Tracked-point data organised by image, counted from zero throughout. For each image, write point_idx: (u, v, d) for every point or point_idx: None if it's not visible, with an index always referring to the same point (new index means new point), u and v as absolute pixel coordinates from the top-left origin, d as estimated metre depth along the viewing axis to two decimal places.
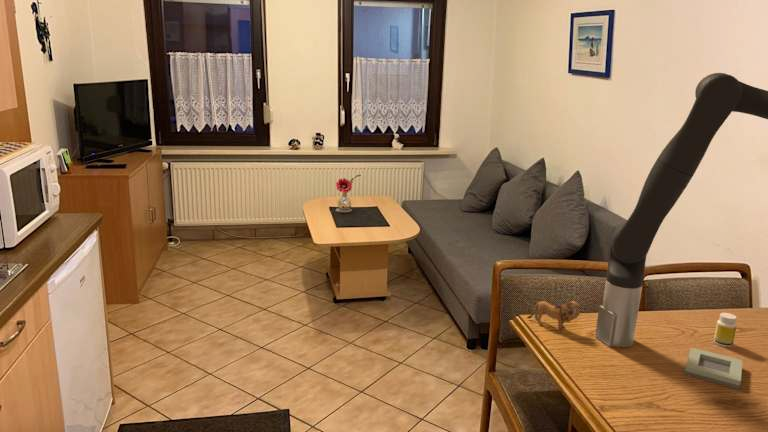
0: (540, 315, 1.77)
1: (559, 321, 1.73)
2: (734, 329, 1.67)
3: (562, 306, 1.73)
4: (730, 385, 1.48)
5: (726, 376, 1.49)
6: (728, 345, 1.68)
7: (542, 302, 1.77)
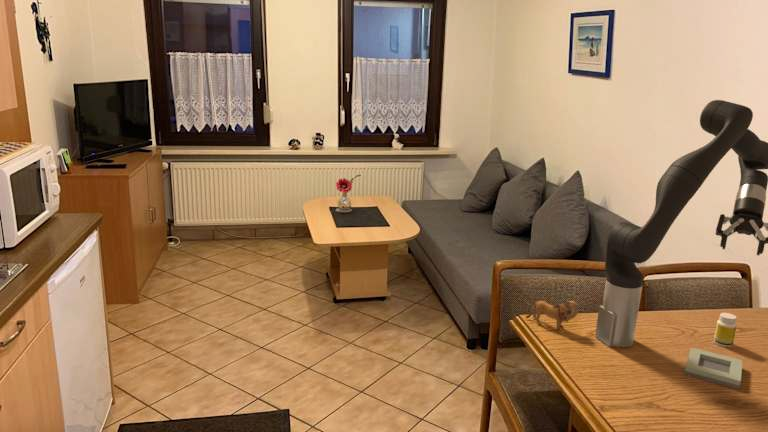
0: (538, 315, 1.77)
1: (557, 320, 1.74)
2: (734, 329, 1.67)
3: (560, 305, 1.73)
4: (730, 385, 1.48)
5: (726, 376, 1.49)
6: (728, 345, 1.68)
7: (540, 302, 1.78)
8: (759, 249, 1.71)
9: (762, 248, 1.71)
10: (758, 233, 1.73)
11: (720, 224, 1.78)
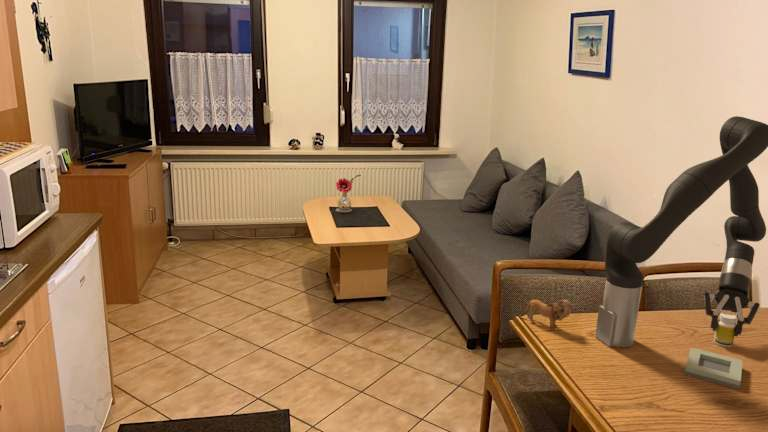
0: (532, 313, 1.78)
1: (551, 319, 1.74)
2: (734, 329, 1.67)
3: (554, 304, 1.74)
4: (730, 385, 1.48)
5: (726, 376, 1.49)
6: (728, 345, 1.68)
7: (534, 300, 1.78)
8: (737, 330, 1.66)
9: (740, 329, 1.66)
10: (738, 312, 1.68)
11: (708, 303, 1.72)
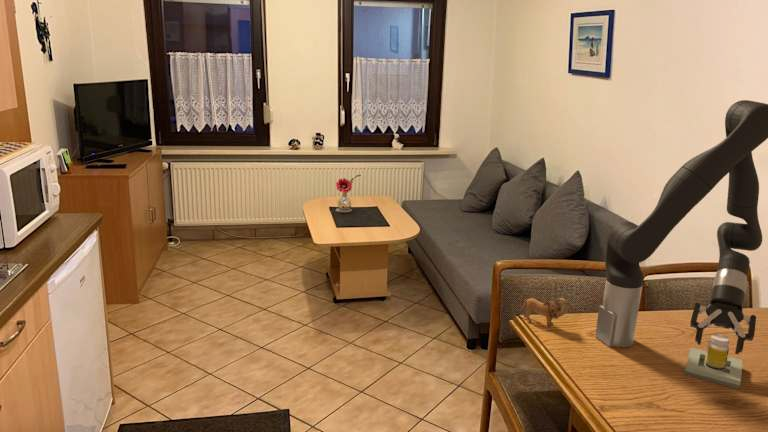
0: (529, 312, 1.79)
1: (547, 318, 1.75)
2: (726, 352, 1.52)
3: (550, 303, 1.75)
4: (730, 385, 1.48)
5: (726, 376, 1.49)
6: (720, 370, 1.53)
7: (531, 299, 1.79)
8: (738, 348, 1.50)
9: (741, 346, 1.50)
10: (737, 328, 1.52)
11: (695, 315, 1.57)
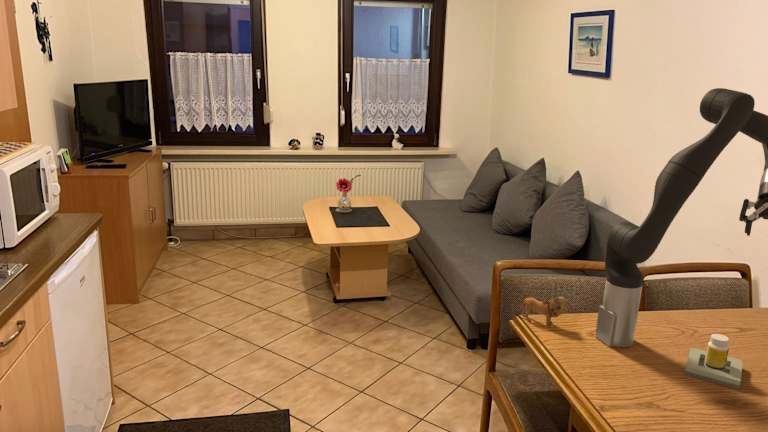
0: (528, 311, 1.79)
1: (547, 316, 1.76)
2: (726, 352, 1.52)
3: (550, 302, 1.75)
4: (730, 385, 1.48)
5: (726, 376, 1.49)
6: (720, 369, 1.53)
7: (529, 298, 1.80)
8: None
9: None
10: None
11: (744, 209, 1.68)
